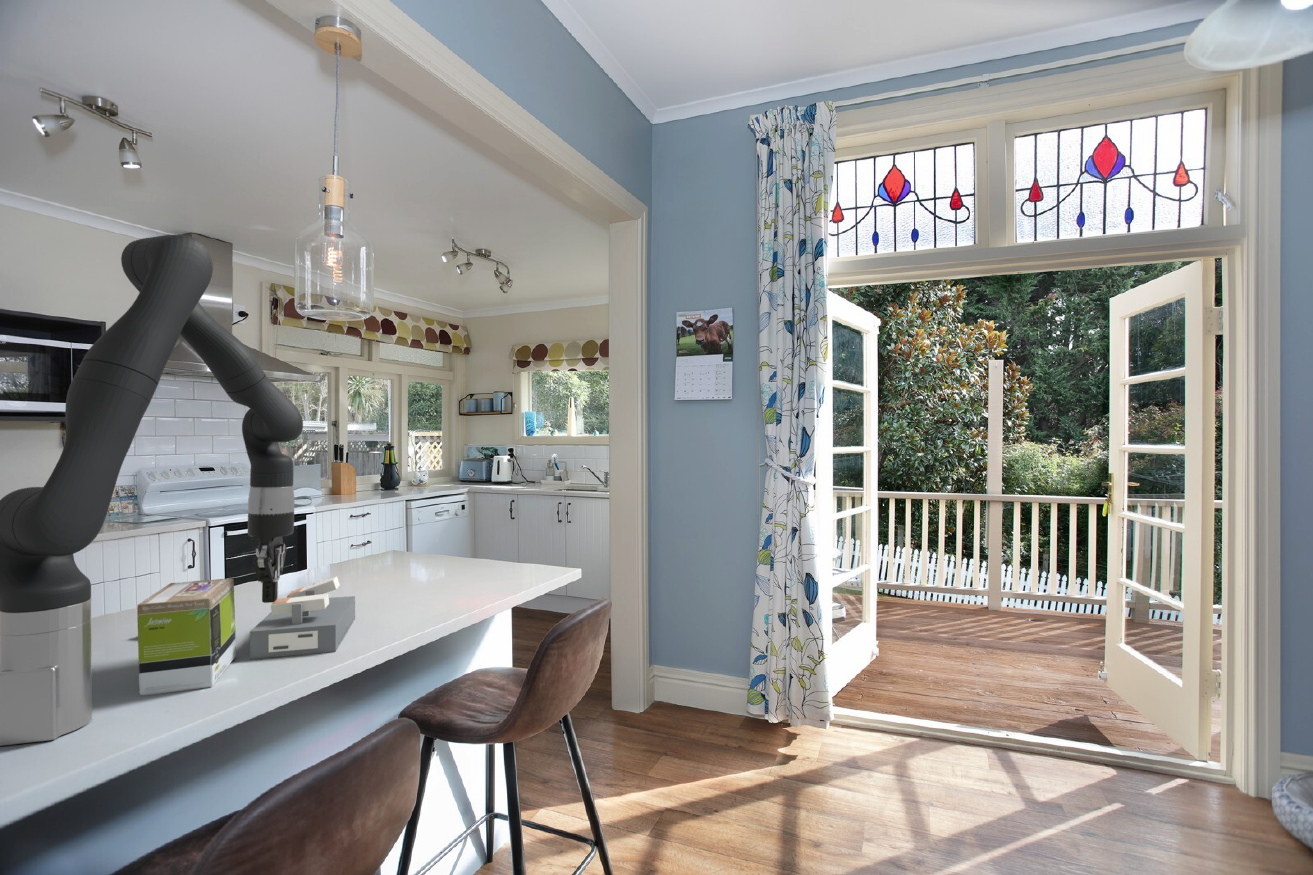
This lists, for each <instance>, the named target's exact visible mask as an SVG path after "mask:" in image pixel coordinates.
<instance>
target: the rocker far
mask: <svg viewBox="0 0 1313 875" xmlns="http://www.w3.org/2000/svg"><path fill="white" fill-rule="evenodd" d="M312 584H313V585H312ZM312 584H310V585H308V586H305V587H300V588H298V589H294V590H292V591H291V592H289V593H287V596H286V598H290V597H291V598H294V597H300V596H306V590H315V595H319V594H328V593H329V592H333V591H335V590H337V589H338V588H339V587H340V586H341V584H340V582H339V578H338V576H337V575H336V576H333V577H331V578H327V579H323V580H322V581H319V582H316V584H315V583H312Z"/></svg>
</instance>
